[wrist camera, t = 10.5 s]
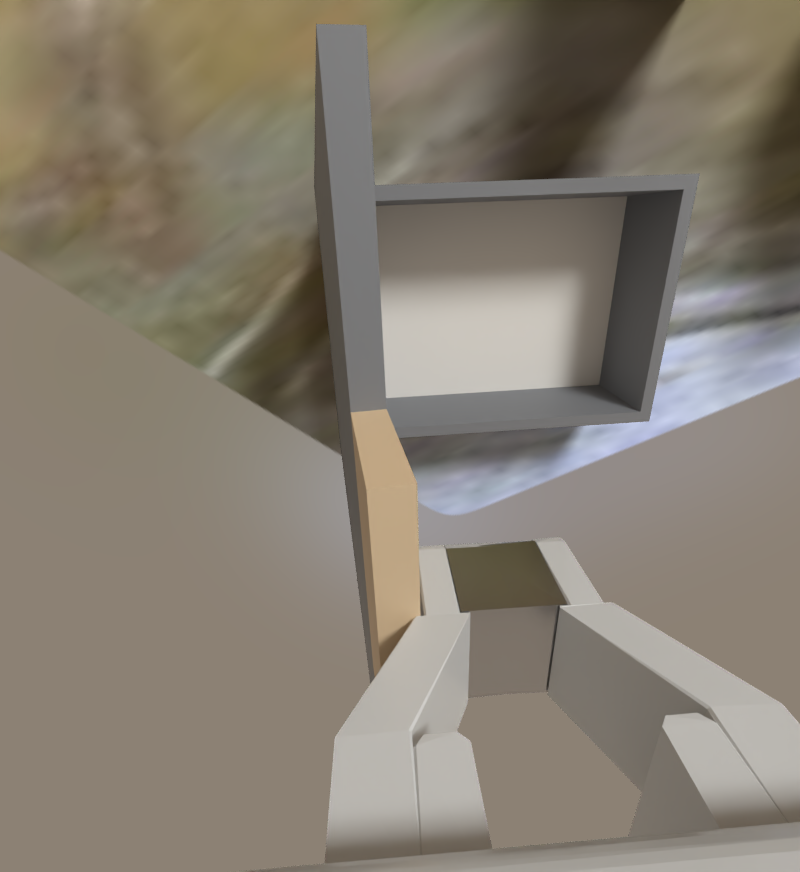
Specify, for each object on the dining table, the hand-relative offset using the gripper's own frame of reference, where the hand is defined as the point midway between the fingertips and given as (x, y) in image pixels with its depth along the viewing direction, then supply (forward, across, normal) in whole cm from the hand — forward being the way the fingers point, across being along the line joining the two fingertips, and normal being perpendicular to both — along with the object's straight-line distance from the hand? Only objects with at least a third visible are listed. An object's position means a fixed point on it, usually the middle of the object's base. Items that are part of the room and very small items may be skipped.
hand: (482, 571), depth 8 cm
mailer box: (+30, -7, 0) cm, 31 cm away
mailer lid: (+11, +3, 0) cm, 11 cm away
